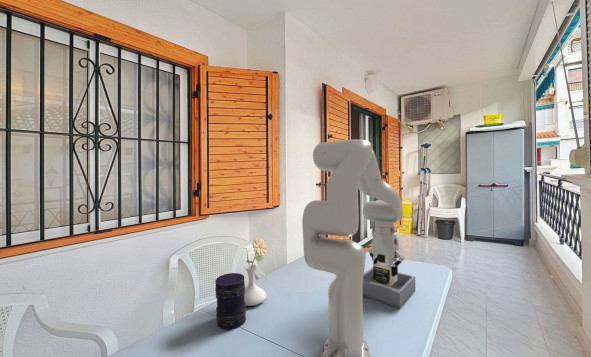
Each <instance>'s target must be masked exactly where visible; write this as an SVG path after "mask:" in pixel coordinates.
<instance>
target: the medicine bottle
mask: <svg viewBox="0 0 591 357" xmlns="http://www.w3.org/2000/svg"><path fill="white" fill-rule="evenodd" d="M377 262H378V263H376V264H374V265H373V264H372V268H373V280H374V282H376V283H380V284H383V285H386V286H389V287H390V286H391V285H393V284H394V283H395V282H397V275H396V276H394V277H393V276H392V273H391V267H392V266H393V265H392V263H391V261H390V260H388V259H387V257H386V256H384V255H382V254H378V255H377Z"/></svg>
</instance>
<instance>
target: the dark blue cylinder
mask: <svg viewBox="0 0 591 357" xmlns="http://www.w3.org/2000/svg"><path fill="white" fill-rule="evenodd" d="M214 282H215V288H214V289H215V298H216V309H215V312H216V324H217V327H218V328H219V329H221V330H224V331H231V330H236V329H238V328H241V327H242V326H243V325H244V324H245V323H246V320H247V317H246V313H247V309H246V307H247V305H246V304H245V300H244V294H245V288H246V282H245V275H244V274H243V273H237V272H236V273H235V272H231V273H230V272H229V273H225V274H221V275H220V276H218V277H217V278H216V279H215V281H214Z"/></svg>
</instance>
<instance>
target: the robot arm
mask: <svg viewBox="0 0 591 357" xmlns="http://www.w3.org/2000/svg"><path fill="white" fill-rule="evenodd" d="M372 146H373V145H372V143H371V142H370V141H368V140H365V139H361V138H360V139H343V140H335V141H334V140H333V141H326V142H325V141H324V142H320V143H318V144H317V145H316V146H315V147H314V149H313V151H312V152H313V153H312V160H313V163H314V165H315V167H316V168H318V169H319V170H320V171H322V172H323V171H324V172H329V173H331V174H330V176H329V178H328V180H327V183H326V200H321V199H319V200H318V199H317V200H312V201H310V202H308V203H307V204H306V206H305V208H304V210H303V213H302V217H301V218H302V219H301V222H302V244H303V257H304V261H305V264H306V265H307V267H309V268H311V269H314V270H316V271H321V272H326V273H330V274H333V275H335V278H333V280H332V281H331V282H330V284H329V287H328V290H327V297H328V301H327V302H328V304H327V305H328V338H326V340H325V342H324V344H323V352H322V353H321V354H320V357H370V355H371V354H370V353H371V352H370V347H369V345H368V344H367V342H366V341H365V340H364V339H365V338H364V297H363V275H364V273H365V267H366V260H367V256H366V255H367V254H366V250H365V248H364V247H363V246H362V245H361V244H360V243H358V242H356V241H353V240H352V241H349V240H343V239H344V238H342V239H341V238H334V237H325V235H328V236H338V237H352V236H354V235H355V234H357V232H358V230H359V223H360V222H359V221H360V220H359V219H360V218H359V217H360V216H359V215H360V214H359V191H360V192H361V193H362V194H364V195H367V196H369V197H371V198H374V199H376V200H375V201H374V200H373V201H372V200H371V201H367V202H366V203H364V205H363V207H362V215H363V217H364V218H365V219H366V220H367V221H372V222H374V231H373V235H372V241H371V246H370V247H368V248H367V252H368V253H369V256H370V258H371V260H372V266H373V265H374V264H376V263H378V262H377V255H378V254H382V255H384V256H386V257H387V259H388V260H390V261H391V263H392V265H393V266H392V267H391V273H392V276H393V277H394V276H396V275H397V274H398V271H399V268H398V267H399V265H401V264H402V263H403V261H405V259H406V258H405V256H404V255H403V254H402V253H401V252H400V246H399V237H398V234H397V233H398V229H397V228H395V223H399V222H400V221H401V220H402V219H403V215H404V208H403V203H402V199H401V197H400V194H399V192H397V190H395V188H393V187H392V186H391V185H390V184H388V183H387V182H385V181H384V180H382V179H383V178H382V175H381V171H380V168H379V164H378V160H377V157H376V154H375V151H374V150H373V148H372Z"/></svg>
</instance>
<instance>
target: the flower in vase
mask: <svg viewBox="0 0 591 357" xmlns="http://www.w3.org/2000/svg"><path fill="white" fill-rule="evenodd" d="M252 248H253V252H255V254H254V257H253V260H249V259H246V263H247V264H248V263H250V264H248V265H245V266H244V269H245V272H246V273H247V276H248V278H247V279H248V284H247V287H246V286H245V294H244V300H245V304H246V307H248V306H250V307H251V306H256V305H260V304H261V303H263V302H265V300H266V298H267V293H266V291H265V290H264V289H263V288H261V287H259V286H257V285H256V283H255V273H256V271H257V269H258V265H257V264H254V262H255V260H256V261H257V262H260V261H263V259H264V257H266V254H267V253H268V252H269V251H268V245H267V243H266V241H265V240H263V239H262V237H260V236H259V237H255V238H254V240H253V241H252Z"/></svg>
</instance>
